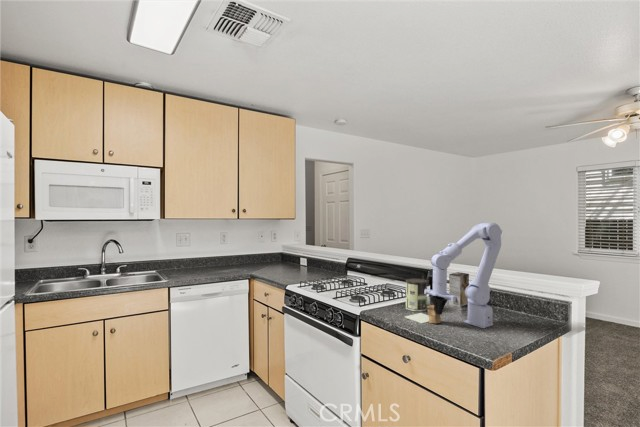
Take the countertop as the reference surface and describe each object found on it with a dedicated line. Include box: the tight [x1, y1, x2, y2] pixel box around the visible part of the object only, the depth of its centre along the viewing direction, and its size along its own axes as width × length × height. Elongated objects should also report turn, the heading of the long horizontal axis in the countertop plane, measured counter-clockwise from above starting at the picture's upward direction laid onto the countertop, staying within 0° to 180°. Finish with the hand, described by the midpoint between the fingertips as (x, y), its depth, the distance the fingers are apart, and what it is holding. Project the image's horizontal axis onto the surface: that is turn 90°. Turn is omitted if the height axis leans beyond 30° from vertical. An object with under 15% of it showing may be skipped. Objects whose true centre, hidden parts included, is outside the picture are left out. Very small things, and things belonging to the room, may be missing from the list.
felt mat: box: [404, 312, 429, 324], centre depth 155 cm, size 10×11×1 cm
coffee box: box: [448, 271, 470, 308], centre depth 178 cm, size 9×6×16 cm
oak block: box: [426, 304, 442, 324], centre depth 149 cm, size 4×4×7 cm
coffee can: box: [405, 277, 428, 313], centre depth 170 cm, size 10×10×14 cm
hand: (439, 314), depth 147 cm, fingers closed
